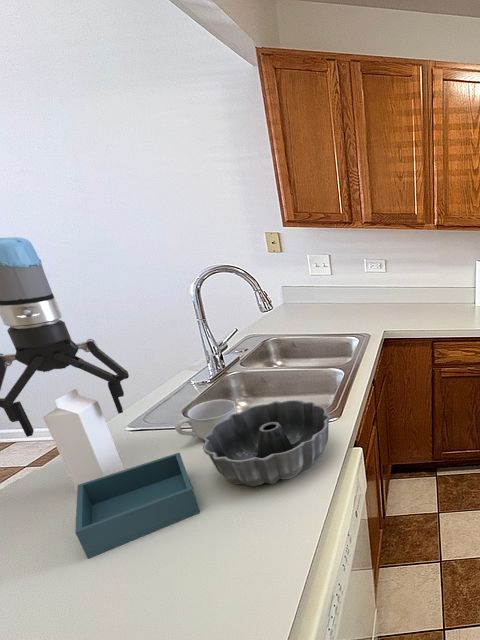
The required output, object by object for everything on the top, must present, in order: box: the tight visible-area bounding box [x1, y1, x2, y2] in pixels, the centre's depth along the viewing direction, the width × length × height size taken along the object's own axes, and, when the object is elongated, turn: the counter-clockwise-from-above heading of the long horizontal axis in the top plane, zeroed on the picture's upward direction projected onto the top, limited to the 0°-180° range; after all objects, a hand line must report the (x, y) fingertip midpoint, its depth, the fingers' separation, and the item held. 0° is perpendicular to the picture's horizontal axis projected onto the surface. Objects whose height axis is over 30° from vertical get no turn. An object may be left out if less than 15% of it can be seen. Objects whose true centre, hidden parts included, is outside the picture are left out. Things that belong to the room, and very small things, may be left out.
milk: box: [42, 388, 125, 492], centre depth 84 cm, size 6×6×22 cm
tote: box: [74, 452, 201, 559], centre depth 79 cm, size 17×17×6 cm
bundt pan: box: [202, 399, 331, 487], centre depth 94 cm, size 26×26×10 cm
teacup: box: [174, 398, 238, 440], centre depth 104 cm, size 14×11×8 cm
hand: (77, 421), depth 82 cm, fingers open, 13 cm apart
